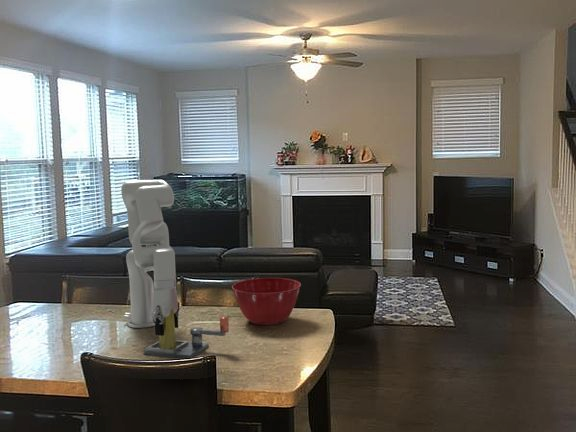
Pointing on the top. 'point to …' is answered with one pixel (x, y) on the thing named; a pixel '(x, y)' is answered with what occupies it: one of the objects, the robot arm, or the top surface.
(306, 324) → the top surface
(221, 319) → the lever
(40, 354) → the top surface
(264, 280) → the mixing bowl
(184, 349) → the bed
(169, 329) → the vase
